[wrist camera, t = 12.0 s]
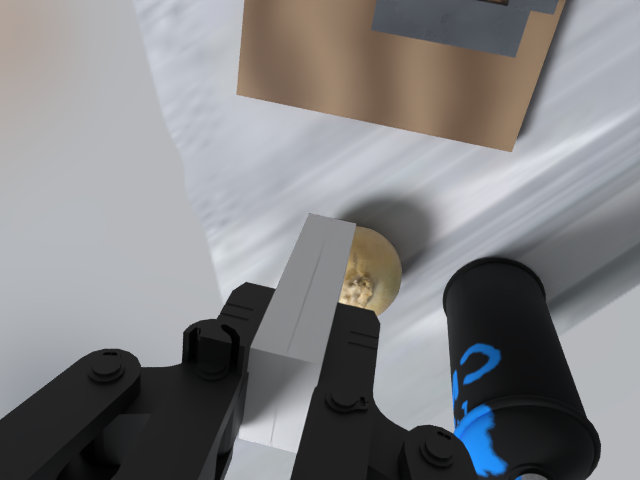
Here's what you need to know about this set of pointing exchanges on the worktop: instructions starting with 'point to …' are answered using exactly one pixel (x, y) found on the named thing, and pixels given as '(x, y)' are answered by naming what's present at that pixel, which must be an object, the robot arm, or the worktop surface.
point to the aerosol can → (513, 378)
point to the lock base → (388, 71)
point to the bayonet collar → (461, 21)
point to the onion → (371, 272)
